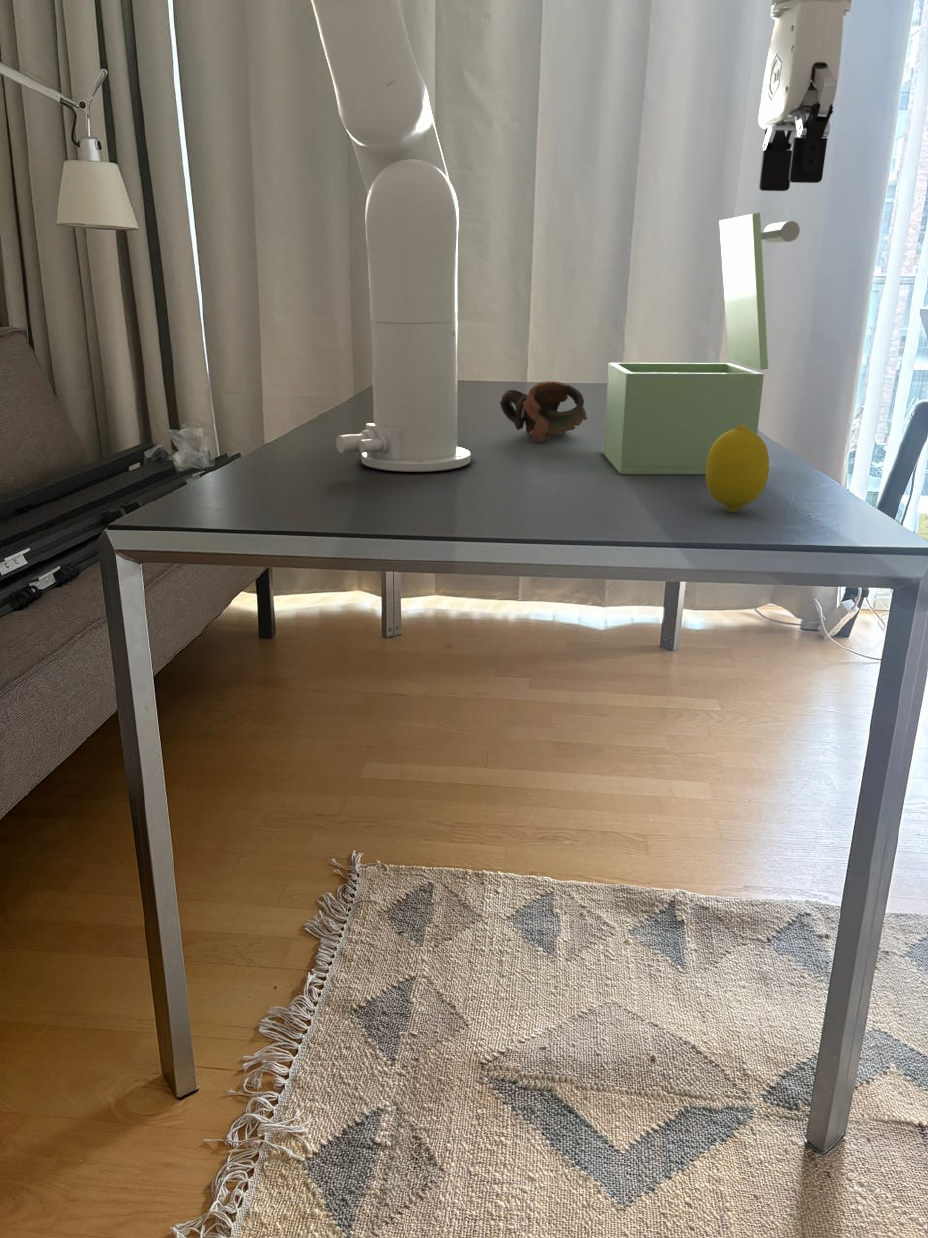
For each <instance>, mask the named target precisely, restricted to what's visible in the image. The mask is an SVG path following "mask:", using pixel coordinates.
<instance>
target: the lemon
mask: <svg viewBox="0 0 928 1238" xmlns="http://www.w3.org/2000/svg"><path fill="white" fill-rule="evenodd" d="M768 452H769V451H768V448H767V444H766V443H765V441H764V440H763V439H762V437H760V436H759V434H758V433H757V434H756V433H754V432H752V431H750V430H748V429H747V427H746V426H744V425H738V426H737V427H736V428H735V429H733V430H730V431H727V432H726V433H724V434H722V435H721V436H720V437H719V438H718V439H717V440H716V441H715V442H714V444H713V445H712V447H711V450H710V452H709V455H708V458H707V463H706V475H705V482H706V486H707V489H708V492H709V493H710V495H711V497H712V498H713V499H714V500H715V501H717V502H718V503H720V504H722V505H723V506H724V507H725V508H726V509H727V511H728V512H730V513H736V512H738V510H740V509H741V508H742V507H743V506H746V505H749V504H752V502H754V501H755V500H757V499H758V497H759V496H760V495H762V493H763V491H764V490H765V487H766V485H767V481H768V478H769V472H770V459H769V453H768Z"/></svg>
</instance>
